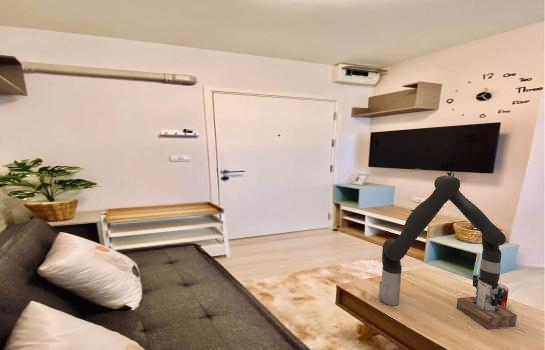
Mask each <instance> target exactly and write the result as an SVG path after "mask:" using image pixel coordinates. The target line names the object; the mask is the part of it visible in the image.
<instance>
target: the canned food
mask: <svg viewBox="0 0 545 350" xmlns="http://www.w3.org/2000/svg"><path fill="white" fill-rule="evenodd" d="M498 285H499V287H501V288H505V293H504V298H503V300H498V303H497V304H499V305H500V306H502V307H504V308H506V309H507V305H508V304H507V303H508V296H509V287H508V286H506V285H505V284H502V283H500V282H498Z"/></svg>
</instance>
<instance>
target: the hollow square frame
mask: <svg viewBox="0 0 545 350" xmlns="http://www.w3.org/2000/svg"><path fill="white" fill-rule="evenodd" d="M476 296H477V295H476ZM476 296H466V297H457V301H456V309H457V310H459V311H460V312H461V313H463V314H464V315H466V316H467V317H469V318H470V319H472V320H473V321H474V322H476V323H478V324H479V325H480V326H482V327H483V328H484V329H486V330H495V329H503V328H504V329H505V328H511V327H512V328H513V327H516V326H517V319H518V315H517V314H516V313H514V312H512V311H511V310H509V309H507V307H506V308H504V307H502V306H500V305H499V304H497V306H496V311H491V312H486V311H485V310H483V309H482V308H480V307H478V306H477V305H475V304H476Z"/></svg>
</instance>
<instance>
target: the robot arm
mask: <svg viewBox="0 0 545 350" xmlns="http://www.w3.org/2000/svg"><path fill="white" fill-rule="evenodd" d="M433 185H434V188H435V189H434V190H433V191H432V192H431V194H430V195H429V196H428V197H427V198H425V199H424V201H422V202H421V203H420V204H418V205H417V206H416V207H415V208H414V209H413V210H412V211H411V212H410V214H409V215H408V217H407V218H406V221H405V223H404V225H403V227H402V230H401V232H400V234H399V235H398V236H397V238H396V239H395V238H388V239H386V240H385V241H384V242H383V245H382V249H381V250H382V253H381V255H382V256H381V263H382V271H381V281H379V288H378V299H379V300H380V301H381V302H382V303H383V304H384V305H389V306H397V305H399V304H400V295H401V293H400V292H401V280H402V271H403V270H402V263H401V260H403V258H404V257H405V256H406V254H407V253H408V251H409V249H410V248H411V247H412V245H413V243H414V242H415V241H416V240H417V239H418V237H420V235H421V234H422V233H423V231H424V230H426V228H427V227H429V226H428V225H429V224H431V222H432V221H433V220H434V218H435V217H436V216H437V215H438V213H439V212H440V211H441V209H442V208H443V207H444V205H445V204H446V203H447V202H448V201H450V202H451V203H452V204H453V206H455V207H456V209H458V210H459V212H461V214H462V215H463V216H464V217H465V218H466V219H467V220H468V222H469V223H470V224H471V225H472V226H473V227H475V228H476V229H477V230H478V231H479V232H480V233H481V243H482V253H481V259H480V265H479V272H478V274H473V275H472V287H474V288H475V289H476V292H475V295H476V296H477V288H478V280H482V281H483V282H486V283H488V285H491V286H492V289H491V288H490V294H491V295H492V301H491V306H497V303H498V300H503V298H504V293H505V288H501V287H499V285H498V283H499V281H500V277H501V276H500V275H501V270H502V269H501V268H502V267H501V265H502V264H501V263H502V262H501V261H502V251H501V250H500V246H503V245H505V243H506V242H507V237H506V235H505V233H504V232H502V231H501V229H499V227H497V226H496V225H495V224H494V223H493V222H492V221H491V220H490V219H489V217H487V215H486V214H485V213H484V212H483V211H482V210H481V209H480V208H479V207H478V206H476V205H475V204H474V203H473V202H472V200H471V201H470V199H468V198H467V197H466V196H465V195H464V194H463V193H462V191H460V189H461V182H460V179H459V178H457V177H456V176H453V175H440V176H438V177H437V178H436V179H435V180H434V184H433ZM493 289H497V291H498V292H497V291H496V292H493V291H492V290H493ZM494 294H495V295H494Z"/></svg>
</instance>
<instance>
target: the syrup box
mask: <svg viewBox="0 0 545 350" xmlns="http://www.w3.org/2000/svg"><path fill="white" fill-rule="evenodd" d="M490 288H491V289H492V286H491V285H488V283H486V282H483V281H482V280H478V288H477V289H476V290H477V295H476V304H475V305H477V306H478V307H480V308H482V309H483V310H485V311H486V312H491V311H496V306H491V301H492V295H491V294H490ZM492 291H493V292H496V291H497V289H493V290H492ZM497 292H498V291H497ZM494 295H495V294H494Z"/></svg>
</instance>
